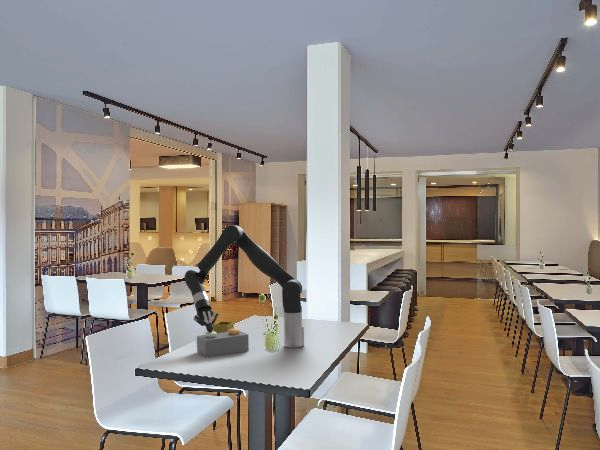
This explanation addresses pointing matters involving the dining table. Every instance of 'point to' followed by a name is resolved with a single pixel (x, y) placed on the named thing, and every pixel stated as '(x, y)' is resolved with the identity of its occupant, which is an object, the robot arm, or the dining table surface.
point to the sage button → (210, 334)
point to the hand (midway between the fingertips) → (210, 331)
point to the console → (222, 344)
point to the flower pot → (223, 326)
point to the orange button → (233, 331)
